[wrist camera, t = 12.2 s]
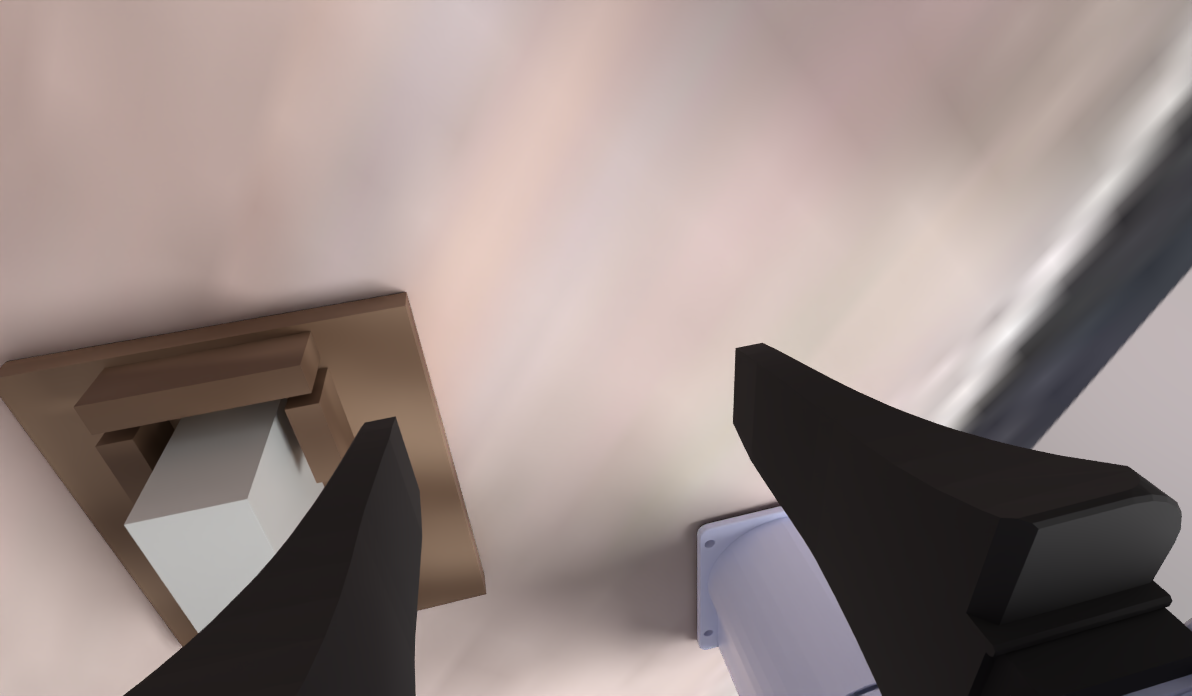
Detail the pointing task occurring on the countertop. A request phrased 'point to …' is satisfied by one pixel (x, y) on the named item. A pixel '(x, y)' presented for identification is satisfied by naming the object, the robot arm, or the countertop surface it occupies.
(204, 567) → the light gray block
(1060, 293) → the countertop surface
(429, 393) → the rack
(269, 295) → the countertop surface
